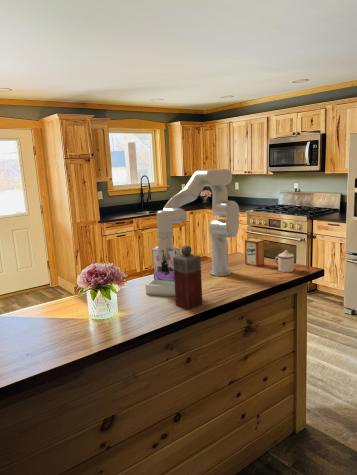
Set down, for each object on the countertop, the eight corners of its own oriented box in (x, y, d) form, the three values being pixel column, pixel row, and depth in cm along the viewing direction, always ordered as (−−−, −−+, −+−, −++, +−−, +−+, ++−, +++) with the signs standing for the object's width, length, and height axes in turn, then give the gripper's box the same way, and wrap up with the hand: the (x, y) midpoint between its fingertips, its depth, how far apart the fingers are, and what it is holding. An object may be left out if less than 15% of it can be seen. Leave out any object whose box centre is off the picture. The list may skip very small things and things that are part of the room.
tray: (155, 286, 203) (154, 277, 202) (190, 288, 196) (190, 279, 195) (146, 294, 192) (145, 284, 191) (183, 296, 185) (183, 287, 184)
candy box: (153, 279, 193) (151, 248, 190) (159, 276, 198) (157, 245, 195) (177, 282, 187) (175, 249, 184) (182, 278, 192) (181, 247, 189)
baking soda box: (245, 264, 237) (244, 239, 233) (251, 262, 241) (251, 237, 238) (257, 267, 229) (257, 241, 226) (264, 264, 234) (264, 239, 231)
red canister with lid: (186, 298, 182) (183, 242, 177) (202, 304, 174) (200, 245, 168) (172, 304, 177) (168, 245, 171) (188, 310, 168) (185, 249, 163)
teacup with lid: (297, 269, 219) (297, 250, 217) (288, 273, 213) (288, 253, 211) (279, 266, 228) (279, 247, 226) (270, 269, 222) (270, 250, 220)
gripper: (164, 231, 198) (166, 265, 201) (151, 238, 182) (154, 274, 185) (178, 231, 195) (179, 265, 199) (166, 238, 179) (168, 275, 183)
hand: (167, 269), depth 192 cm, fingers closed on candy box, 6 cm apart
